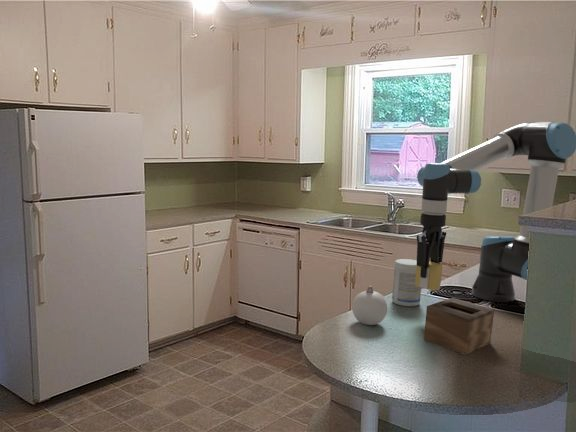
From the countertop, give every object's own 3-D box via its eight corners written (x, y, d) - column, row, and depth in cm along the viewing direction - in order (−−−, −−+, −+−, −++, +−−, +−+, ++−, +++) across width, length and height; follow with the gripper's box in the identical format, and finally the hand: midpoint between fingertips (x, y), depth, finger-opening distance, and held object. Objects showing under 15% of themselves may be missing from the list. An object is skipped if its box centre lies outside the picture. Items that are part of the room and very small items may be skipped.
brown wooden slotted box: (449, 329, 162) (452, 297, 161) (490, 343, 153) (494, 309, 151) (423, 339, 153) (426, 305, 151) (465, 355, 143) (469, 319, 142)
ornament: (360, 331, 157) (363, 291, 155) (346, 319, 166) (348, 281, 164) (391, 328, 160) (395, 290, 158) (375, 317, 170) (378, 280, 168)
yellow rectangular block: (421, 283, 173) (423, 259, 172) (440, 289, 168) (442, 264, 167) (414, 285, 171) (416, 261, 170) (434, 291, 166) (436, 265, 165)
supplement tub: (425, 305, 185) (429, 263, 183) (405, 309, 180) (409, 266, 178) (405, 297, 193) (408, 257, 191) (385, 300, 188) (389, 259, 186)
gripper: (437, 209, 174) (431, 279, 178) (407, 213, 163) (402, 288, 167) (458, 212, 169) (452, 284, 173) (429, 217, 158) (423, 293, 161)
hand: (427, 286), depth 170 cm, fingers closed on yellow rectangular block, 3 cm apart
